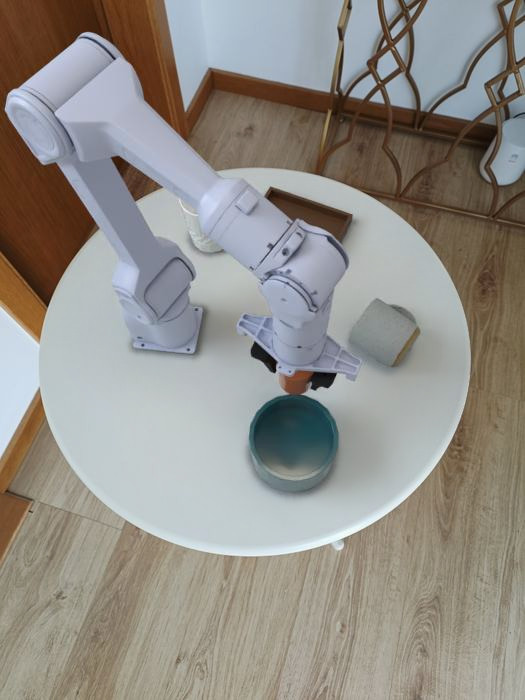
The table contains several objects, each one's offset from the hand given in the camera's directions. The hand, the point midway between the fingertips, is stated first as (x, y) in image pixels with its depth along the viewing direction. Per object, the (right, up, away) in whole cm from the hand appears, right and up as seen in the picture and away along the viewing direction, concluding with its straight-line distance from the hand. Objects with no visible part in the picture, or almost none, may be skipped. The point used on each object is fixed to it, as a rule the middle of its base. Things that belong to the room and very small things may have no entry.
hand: (295, 374), depth 68 cm
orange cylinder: (0, -1, +1) cm, 1 cm away
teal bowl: (0, -11, +6) cm, 13 cm away
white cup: (-13, +22, +23) cm, 34 cm away
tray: (+2, +24, +23) cm, 33 cm away
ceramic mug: (+14, +5, +14) cm, 20 cm away
